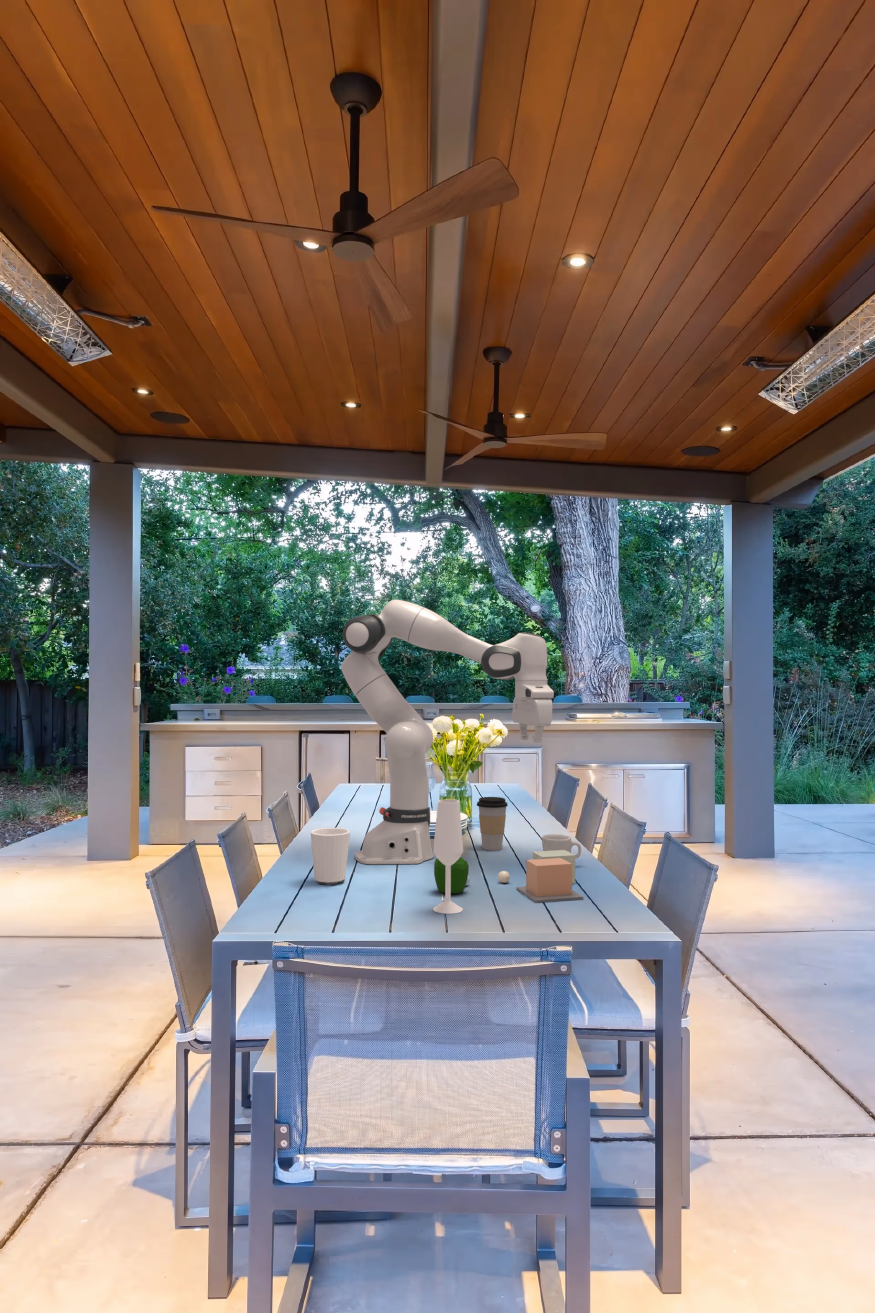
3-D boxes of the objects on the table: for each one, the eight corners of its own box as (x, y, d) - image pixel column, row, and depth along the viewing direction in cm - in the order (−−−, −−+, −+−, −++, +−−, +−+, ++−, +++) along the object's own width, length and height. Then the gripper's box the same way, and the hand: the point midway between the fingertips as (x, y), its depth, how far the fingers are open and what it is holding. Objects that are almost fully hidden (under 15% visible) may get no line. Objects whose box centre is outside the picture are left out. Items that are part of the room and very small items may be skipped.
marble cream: (508, 877, 202) (497, 881, 203) (512, 882, 204) (502, 887, 205) (505, 867, 205) (495, 871, 205) (510, 872, 206) (499, 877, 207)
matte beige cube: (542, 885, 202) (542, 857, 202) (532, 879, 208) (532, 851, 208) (575, 883, 205) (575, 855, 205) (564, 877, 211) (564, 850, 211)
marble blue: (464, 885, 199) (460, 873, 200) (458, 888, 201) (454, 876, 202) (473, 882, 201) (470, 870, 202) (468, 886, 203) (464, 874, 204)
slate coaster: (535, 902, 187) (535, 900, 187) (516, 889, 198) (516, 887, 198) (583, 899, 190) (583, 896, 190) (561, 886, 202) (561, 884, 202)
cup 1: (301, 882, 204) (302, 831, 204) (332, 875, 211) (332, 826, 211) (327, 889, 197) (327, 836, 197) (357, 882, 204) (358, 831, 205)
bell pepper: (472, 889, 199) (472, 847, 199) (464, 897, 191) (464, 854, 191) (439, 886, 201) (439, 845, 201) (429, 895, 193) (430, 852, 193)
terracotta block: (536, 896, 190) (536, 866, 190) (526, 889, 196) (526, 860, 196) (571, 894, 192) (572, 863, 193) (560, 887, 199) (560, 858, 199)
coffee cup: (508, 852, 241) (509, 801, 241) (476, 851, 241) (477, 801, 241) (506, 845, 250) (506, 796, 250) (475, 845, 250) (476, 796, 250)
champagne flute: (433, 904, 185) (434, 798, 185) (462, 905, 184) (463, 799, 185) (432, 913, 178) (433, 803, 178) (462, 914, 178) (463, 803, 178)
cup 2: (580, 863, 227) (580, 834, 227) (582, 870, 219) (582, 840, 219) (541, 862, 228) (541, 833, 228) (542, 869, 220) (542, 839, 220)
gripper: (507, 690, 234) (506, 738, 234) (534, 691, 215) (534, 744, 214) (527, 690, 236) (527, 738, 236) (556, 691, 216) (556, 744, 216)
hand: (530, 741), depth 225 cm, fingers open, 8 cm apart
